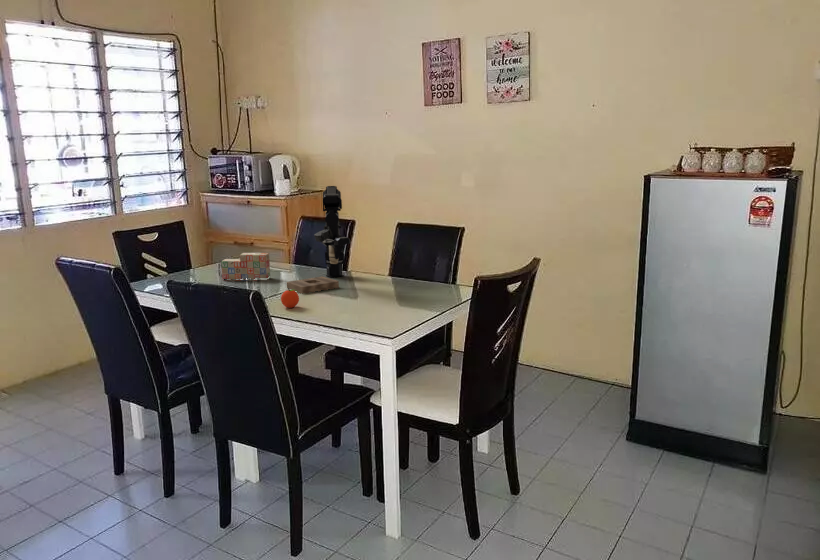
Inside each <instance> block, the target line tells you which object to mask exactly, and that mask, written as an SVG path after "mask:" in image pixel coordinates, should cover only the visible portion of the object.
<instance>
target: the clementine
mask: <svg viewBox="0 0 820 560" xmlns="http://www.w3.org/2000/svg"><path fill="white" fill-rule="evenodd" d="M295 291H297V290H295ZM295 291H294V290H289V289H286V290H285V291H283V292H282V294H281V295H280V300H281V303H282V305H283V306H284V307H285V308H289V309H292V308H294V307H296V306H298V303H299V301H300V297H299V294H300V293H298V291H297V292H295Z"/></svg>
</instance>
